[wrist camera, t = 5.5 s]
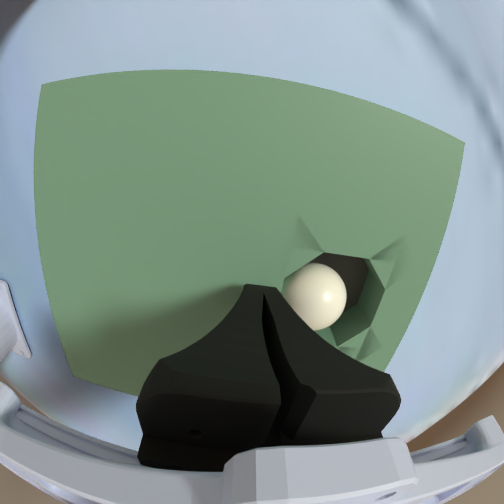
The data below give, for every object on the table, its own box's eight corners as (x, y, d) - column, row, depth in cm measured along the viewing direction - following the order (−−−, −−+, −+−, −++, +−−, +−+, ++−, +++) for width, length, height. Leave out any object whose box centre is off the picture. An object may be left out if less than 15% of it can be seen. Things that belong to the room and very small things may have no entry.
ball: (344, 322, 14) (293, 298, 16) (362, 268, 13) (305, 246, 14) (319, 354, 11) (261, 323, 13) (340, 294, 10) (272, 264, 12)
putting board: (86, 354, 17) (72, 376, 15) (69, 88, 10) (41, 84, 8) (348, 389, 18) (356, 414, 16) (436, 139, 12) (464, 142, 9)
